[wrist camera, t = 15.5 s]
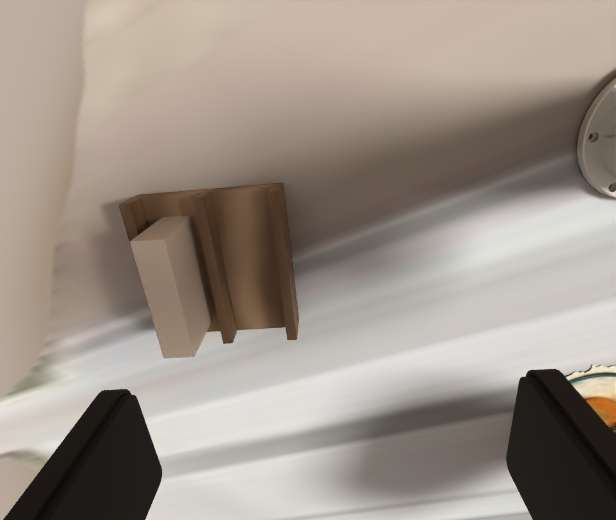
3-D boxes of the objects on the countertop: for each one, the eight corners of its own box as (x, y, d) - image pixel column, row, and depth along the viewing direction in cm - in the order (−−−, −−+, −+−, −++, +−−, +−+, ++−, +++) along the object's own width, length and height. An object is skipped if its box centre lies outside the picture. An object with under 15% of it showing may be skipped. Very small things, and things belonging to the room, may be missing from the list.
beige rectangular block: (191, 215, 37) (164, 239, 31) (213, 317, 42) (194, 356, 36) (162, 217, 38) (129, 241, 31) (187, 318, 42) (163, 358, 36)
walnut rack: (282, 182, 37) (278, 192, 34) (298, 319, 44) (296, 339, 40) (138, 194, 38) (118, 205, 35) (174, 326, 45) (161, 347, 41)
